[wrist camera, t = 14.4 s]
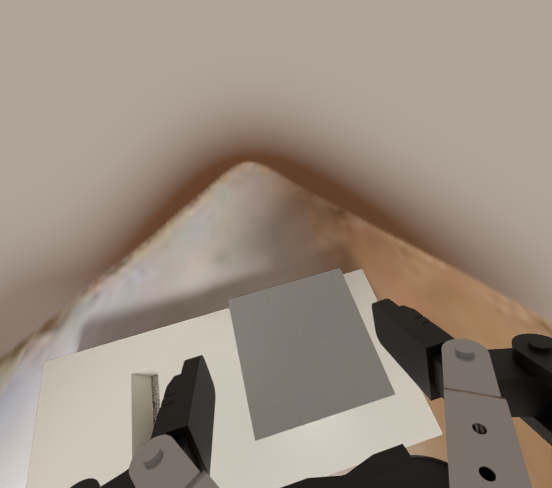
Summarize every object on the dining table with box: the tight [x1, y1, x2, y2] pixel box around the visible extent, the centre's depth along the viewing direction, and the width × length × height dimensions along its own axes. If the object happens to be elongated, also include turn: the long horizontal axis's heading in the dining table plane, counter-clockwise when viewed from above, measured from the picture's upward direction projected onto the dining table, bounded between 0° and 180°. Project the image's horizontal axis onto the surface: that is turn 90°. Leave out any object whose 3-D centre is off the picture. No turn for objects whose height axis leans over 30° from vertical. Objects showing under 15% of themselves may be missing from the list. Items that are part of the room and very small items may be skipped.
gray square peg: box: [228, 268, 395, 441], centre depth 14 cm, size 4×4×14 cm
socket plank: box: [26, 269, 442, 488], centre depth 19 cm, size 24×11×3 cm, turn 106°
